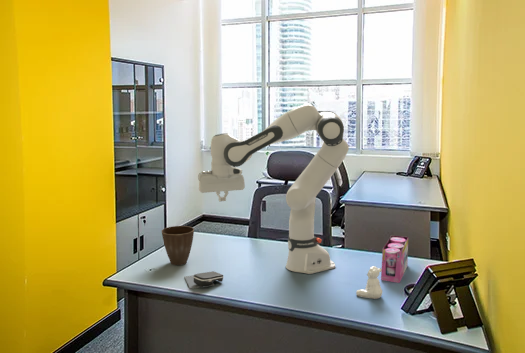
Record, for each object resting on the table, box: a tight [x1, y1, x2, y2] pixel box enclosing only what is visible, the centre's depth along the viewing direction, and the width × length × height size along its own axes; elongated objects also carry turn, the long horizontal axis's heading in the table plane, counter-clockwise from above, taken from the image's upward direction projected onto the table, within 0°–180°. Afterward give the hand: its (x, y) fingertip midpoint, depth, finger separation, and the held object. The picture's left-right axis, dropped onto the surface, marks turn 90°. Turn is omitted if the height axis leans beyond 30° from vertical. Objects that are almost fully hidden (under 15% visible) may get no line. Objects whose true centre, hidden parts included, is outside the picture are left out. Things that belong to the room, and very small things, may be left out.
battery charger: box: [193, 270, 224, 287], centre depth 179 cm, size 7×4×11 cm
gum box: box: [380, 235, 409, 284], centre depth 188 cm, size 24×8×14 cm, turn 154°
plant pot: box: [161, 225, 195, 266], centre depth 205 cm, size 15×15×16 cm
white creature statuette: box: [355, 265, 383, 300], centre depth 166 cm, size 10×9×12 cm
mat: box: [184, 274, 215, 290], centre depth 183 cm, size 10×13×1 cm
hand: (222, 201), depth 193 cm, fingers closed
